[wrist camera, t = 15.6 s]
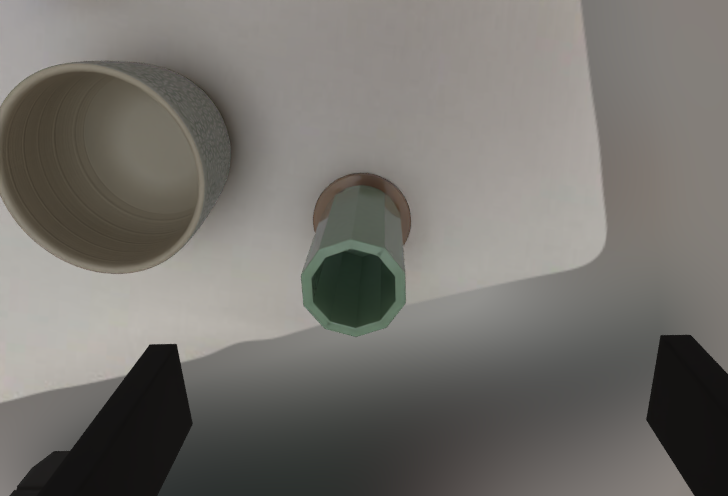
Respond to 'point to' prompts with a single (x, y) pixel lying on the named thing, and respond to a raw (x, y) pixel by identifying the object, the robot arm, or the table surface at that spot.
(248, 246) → the table surface
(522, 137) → the table surface
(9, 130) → the planter
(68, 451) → the robot arm
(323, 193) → the coaster
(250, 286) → the table surface
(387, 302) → the green pot
